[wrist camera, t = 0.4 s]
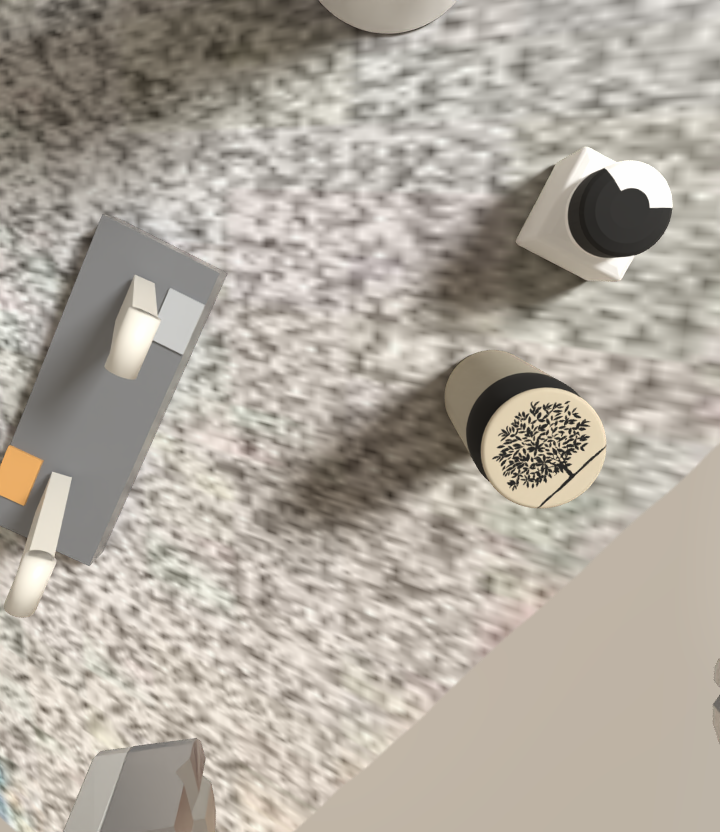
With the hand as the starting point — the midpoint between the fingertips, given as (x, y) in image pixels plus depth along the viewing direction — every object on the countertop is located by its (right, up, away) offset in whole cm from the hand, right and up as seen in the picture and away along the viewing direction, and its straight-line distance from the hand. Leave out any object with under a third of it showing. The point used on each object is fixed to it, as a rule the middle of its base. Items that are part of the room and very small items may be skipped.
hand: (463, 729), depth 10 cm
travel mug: (+10, +7, +47) cm, 48 cm away
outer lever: (-28, -2, +45) cm, 53 cm away
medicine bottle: (+16, +21, +44) cm, 51 cm away
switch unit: (-23, +7, +47) cm, 53 cm away
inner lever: (-19, +14, +42) cm, 48 cm away
